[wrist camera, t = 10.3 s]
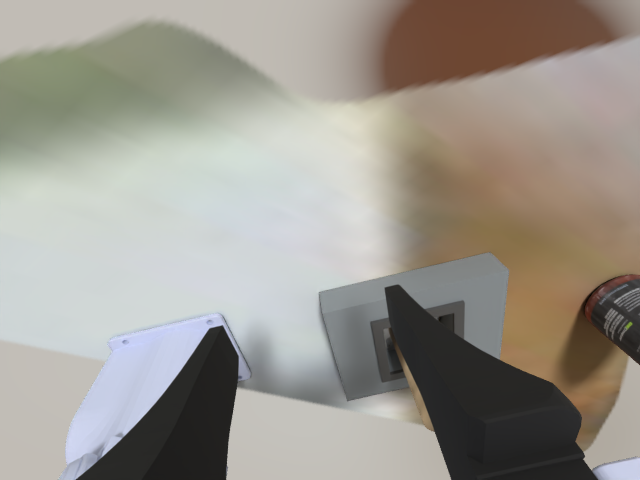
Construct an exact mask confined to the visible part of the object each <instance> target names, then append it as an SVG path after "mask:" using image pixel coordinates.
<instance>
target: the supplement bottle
mask: <svg viewBox="0 0 640 480" xmlns="http://www.w3.org/2000/svg"><path fill="white" fill-rule="evenodd" d="M585 315H586V318H587V319H588V321H589V322H590V323H591V324H592V325H594V326H595V327H596V328H597V329H598V330H599V331H600V332H601V333H603V334H604V335H605V336H606V337H607V338H609V339H610V340H611V341H612V342H613V343H614V344H616V345H617V346H618V347H619V348H620V349H621V350H623V351H624V352H625V353H626V354H627V355H629V356H630V357H631V358H632V359H633V360H634V361H636V362H637V363H638V364H639V365H640V275H623V276H619V277H617V278H615V279H612V280H610V281H608V282H606V283H605V284H603V285H601V286H600V287H599V288H598V289H597V290H596V291H595V292H594V293H593V294H592V295H591V296H590V298H589V299H588V302H587V304H586V306H585Z"/></svg>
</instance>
